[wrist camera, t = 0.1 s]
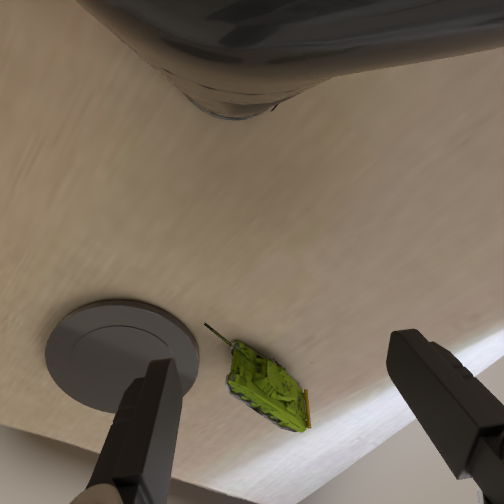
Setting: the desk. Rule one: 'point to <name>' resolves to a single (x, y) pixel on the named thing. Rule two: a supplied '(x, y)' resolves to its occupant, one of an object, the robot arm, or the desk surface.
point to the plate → (116, 350)
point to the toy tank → (266, 388)
